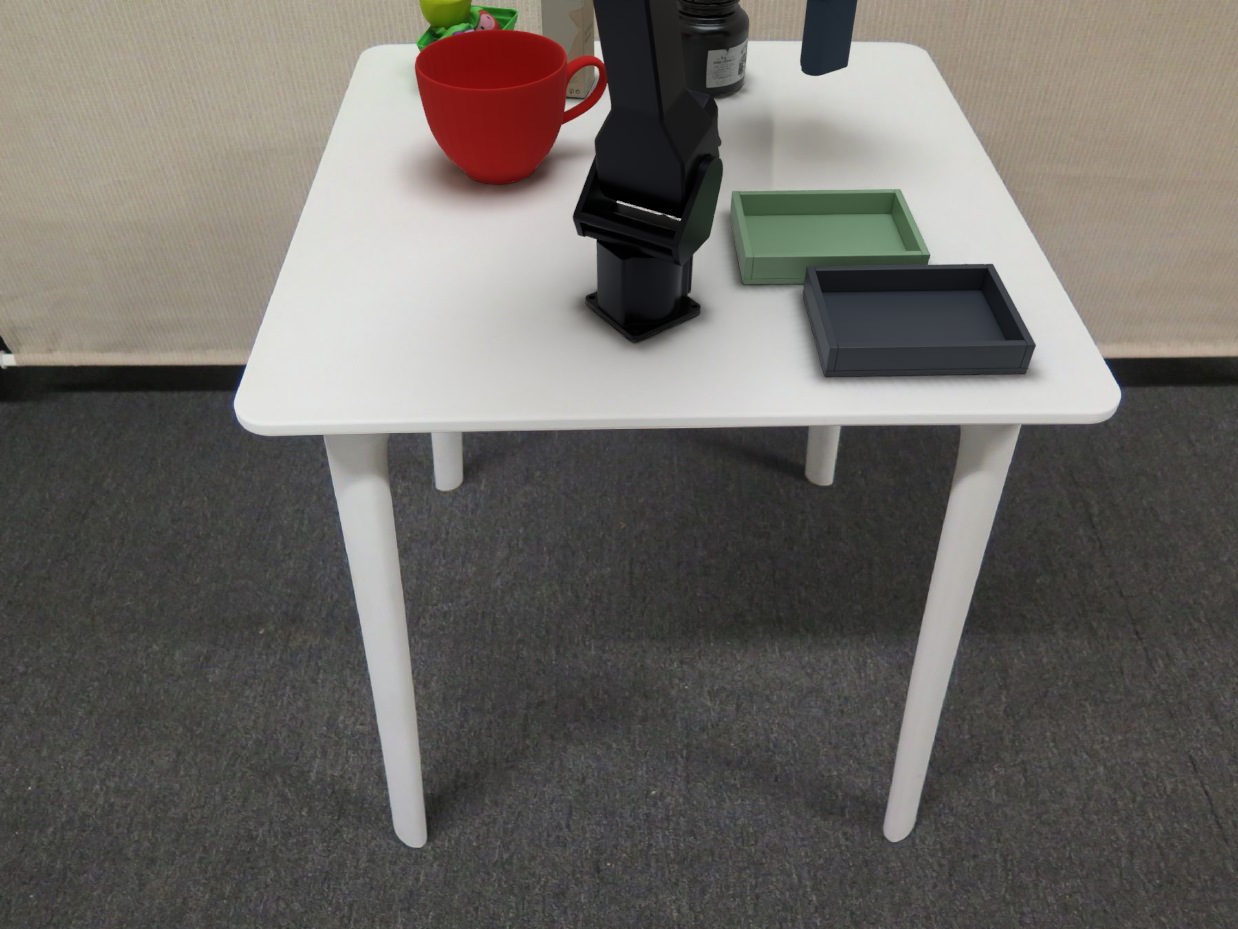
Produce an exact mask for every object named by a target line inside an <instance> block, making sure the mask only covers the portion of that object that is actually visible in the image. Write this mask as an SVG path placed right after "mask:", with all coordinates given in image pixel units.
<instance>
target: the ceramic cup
mask: <svg viewBox="0 0 1238 929" xmlns="http://www.w3.org/2000/svg"><path fill="white" fill-rule="evenodd" d="M586 66H595V68H597V70H598V79H597V83H596V85H595V86H594V88H593V90H592V91H591V92H590V94H589V95H588V96H586V97H585V98H584V99H583V100H582V101H581V102H579V103H578V104H576V105H574V106H573V107H571V108H569V109H567V110H566V103H567V97H566V91H567V87H568V84H569V81H570V79H571V78H572V76H573V75H574V74H575V73H576V72H577V71H578V70H580V69H581V68H583V67H586ZM414 73H415V78H416V84H417V88H418V93H419V97H420V101H421V106H422V108H423V113H424V116H425V118H426V122H427V124H428V127H429V130H430V132H431V134H432V136H433V138H434V139H435V141H436V143H437V145H438V146H439V147H440V149H441V150H442V151H443V152H444V154H445V155H446V157H447V158H448V159H449V160H450V161H451V162H453V163H454V165H456V167H457V168H459V169H460V170H462V171H463V172H464V173H465V174H466V175H467V176H468V177H469V178H470V179H471V180H474V181H477V182H480V183H483V184H491V185H505V184H512V183H516V182H519V181H522V180H525V179H526V178H528V177H530V176H531V175H532V174H534V172H535V171H536V169H537V168H538V166H540V164H541V163H542V162H543V161H544V160H545V159H546V157H547V156H548V155H549V153H550V152H551V150H552V149H553V147H554V145H555V144H556V141H557V138H558V136H559V133H560V131H561V129H562V126H563V125H565V124H567V123H569V122H571V121H573V120H576V119H577V118H579V117H580V116H582V115H584V114H586V113H587V112H588V111H589V110H591V109H592V108H593V107H595V105H596V104H597V103H598V102H599V101H600V100H601V98H602V96H603V95H604V93H605V91H606V88H607V87H608V84H607V78H606V73H605V67H604V61H603V60H601V59H600V58H599V57H598V56H595V55H594V56H581V57H578V58H576V59H574V60H572V61H571V62H569V63H568V64H567V54H566V52H565V50H564V49H563V47H562V46H560V45H559V44H558V43H557V42H555V41H553V40H551V39H549V38H547V37H544V36H543V35H541V34H538V33H533V32H529V31H523V30H515V29H514V30H480V31H471V32H466V33H460V34H456V35H452V36H449V37H446V38H443V39H440V40H438V41H436V42H434V43H432V44H430V45H428V46H427V47H425V48H424V49H423V50H422V51H421V52H420V51H419V53H418V55H417V56H416V57H415V62H414Z"/></svg>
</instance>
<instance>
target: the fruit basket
mask: <svg viewBox="0 0 1238 929" xmlns="http://www.w3.org/2000/svg"><path fill="white" fill-rule="evenodd" d="M418 2H419V8H420V11H421V14H422V16H423V18H424V19H425V21H427V23H428V24H429V27H428V28H427V29H426V30H425V31H424V33H423V34H421V36H420V37H419V38H418V39H417V40H416V43H415V45H416V47H417V49H418V51H419V53H420V52H421V51H422V50H423V49H424V48H425V47H427V46H428V45H430V44H432V43H434V42H436V41H438V40H440V39H443V38H446V37H449V36H452V35H456V34H460V33H466V32H471V31H480V30H515V27H516V24H517V22H518V16H519V10H517V9H515V8H511V7H510V8H509V7H498V6H486V5H478V4H477V5H475V4H472V3H473V0H418Z"/></svg>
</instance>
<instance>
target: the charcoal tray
mask: <svg viewBox="0 0 1238 929" xmlns="http://www.w3.org/2000/svg"><path fill="white" fill-rule="evenodd" d="M802 297H803V301H804V305H805V308H806V312H807V316H808V319H809V323H810V327H811V330H812V334H813V337H814V341H815V346H816V348H817V352H818V356H819V360H820V364H821V367H822V371H823V374H824V377H878V376H879V377H880V376H938V375H940V376H944V375H945V376H947V375H1003V374H1004V375H1005V374H1006V375H1008V374H1027V372H1028V368H1029V366H1030V363H1031V361H1032V358H1033V355H1034V352H1035V349H1036V346H1037V345H1036V342H1035V340H1034V339H1033V336H1032V335H1031V333H1030V330H1029V329H1028V327H1027V325H1026V323H1025V321H1024V319H1023V318H1022V316H1021V314H1020V312H1019V310H1018V308H1017V306H1016V304H1015V303H1014V300H1013V299H1012V297H1011V295H1010V293H1009V291H1008V290H1007V288H1006V286H1005V284H1004V282H1003V280H1002V278H1001V276H1000V274H999V273H998V271H997V269H996V267H995V265H994V263H956V264H955V263H950V264H949V263H948V264H947V263H946V264H944V263H943V264H942V263H941V264H928V265H870V266H815V267H814V266H807V267H806V273H805V280H804V284H803V288H802Z"/></svg>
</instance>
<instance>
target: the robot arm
mask: <svg viewBox="0 0 1238 929" xmlns="http://www.w3.org/2000/svg"><path fill="white" fill-rule="evenodd" d="M593 5H594V17H595V21H596V27H597V32H598V33H597V34H598V38H599V44H600V49H601V54H602V62H603V63H604V67H605V73H606V78H607V89H608V95H609V101H610V110H609V111H608V113H607V115H606V117H605V119H604V121H603V123H602V124H601V126H600V128H599V130H598V132H597V134H596V135H595V138H594V153H595V154H594V157H593V160H592V161H591V164H590V167H589V170H588V173H587V175H586V178H585V181H584V183H583V187H582V189H581V193H580V194H579V196H578V200H577V203H576V205H575V208H574V210H573V213H572V221H573V224H574V227H575V230H576V233H577V236H579V237H584V238H586V237H587V238H591V239H593V240H595V243H596V245H595V246H596V248H595V250H596V291H594V292H591V293H588V294H587V295H585V297H584V298H585V304H586V306H588V307H590V308H591V309H592V310H593V311H594V312H595V313H596V314H598V315H599V316H600V317H602V318H603V319H604V320H605V321H607V323H609V324H610V325H611V326H613V327H614V328H615V329H616V330H618V331H619V332H620V333H621V334H622V335H624V336H625V337H626V338H628V340H630V341H633V342H640V341H641V340H643V339H646V338H648V337H650V336H652V335H655V334H657V333H659V332H661V331H663V330H665V329H668V328H670V327H673V326H674V325H677V324H679V323H681V322H683V321H686V320H688V319H691V318H693V317H695V316H697V315H699V314H701V310H702V306H701V304H700V303H699V302H697V301H695V300H694V299H693V298H692V297H690V296H689V294H691V293H692V285H693V284H692V283H693V281H692V280H693V268H694V267H693V265H694V254H696V252H697V251H698V250H699V249H700V248H701V247H702V246H703V245H704V244H705V243H706V242H707V241H708V240H709V239H710V236H711V233H712V229H713V224H714V219H715V214H716V211H717V205H718V201H719V196H720V192H721V186H722V182H723V176H724V163H723V160H722V158H720V156H721V154H720V148H719V147H721V146H722V143H723V142H722V141H723V140H722V138H721V137H720V132H719V107H718V104H717V102H716V99H715V96H712V95H708V94H704V93H699V92H695V91H691V90H688V89H687V88H686V83H685V74H684V64H683V54H682V44H681V34H680V24H679V14H678V4H677V0H593ZM620 202H621V203H620ZM637 207H638V208H637ZM644 209H645V210H644ZM658 213H659V214H658ZM676 218H677V219H676Z"/></svg>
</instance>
